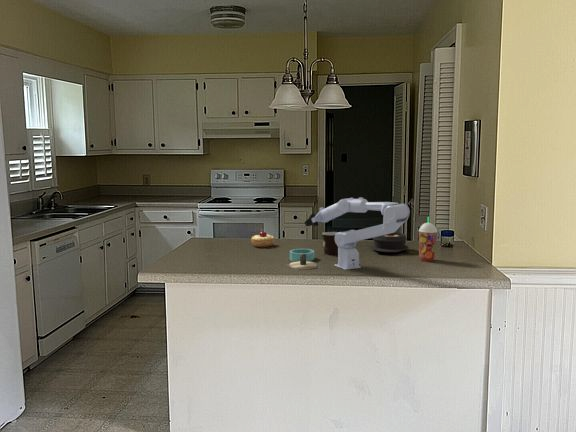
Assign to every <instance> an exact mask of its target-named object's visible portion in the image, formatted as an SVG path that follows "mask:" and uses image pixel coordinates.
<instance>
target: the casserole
mask: <svg viewBox="0 0 576 432" xmlns="http://www.w3.org/2000/svg"><path fill="white" fill-rule="evenodd" d="M372 240H373V243H372V244H371V245H370V247H371V249H373V250H375V251H376V252H378V253H379V252H380V253H389V254H391V253H393V254H394V253H400V252H402V251H406V250H408V249H409V248H410V247H409V246H408V245H407V244H406V241H407V240H408V238H407V237H406V234H405V233H403V232H398V231H395V232H394V233H390V234H386V235H382V236H377V237H373V238H372Z"/></svg>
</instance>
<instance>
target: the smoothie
mask: <svg viewBox="0 0 576 432" xmlns="http://www.w3.org/2000/svg"><path fill="white" fill-rule="evenodd" d="M417 231H418V245H419V246H418V251H419V252H418V253H419V258H420V260H421V261H422V262H426V263H428V262H429V263H430V262H434V261H435V258H436V250H437V239H438V229H437V227H436V226H435V224H433V223H431V222H430V216H427V222H424V223H422V224H421V225H420V227H419V229H418V230H417Z"/></svg>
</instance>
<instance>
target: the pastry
mask: <svg viewBox="0 0 576 432" xmlns="http://www.w3.org/2000/svg"><path fill="white" fill-rule="evenodd" d="M250 240H251V243H252V244H251V245H252V246H253V247H255V248H270V246H271V247H272V246H273V245H274V243H275V236H274V235H270V234H269V233H268V234H267V232H266V231H264V230H263V229H262V228H261V229H260V232H259V234H255V235H253V236H251V238H250Z"/></svg>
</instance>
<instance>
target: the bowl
mask: <svg viewBox="0 0 576 432" xmlns="http://www.w3.org/2000/svg"><path fill="white" fill-rule="evenodd" d="M300 254H306V261H308V262H313V261H315V250H314V249H311V248H296V249H295V248H294V249H291V250H289V260H290V261H292V262H298V261H300Z"/></svg>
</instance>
